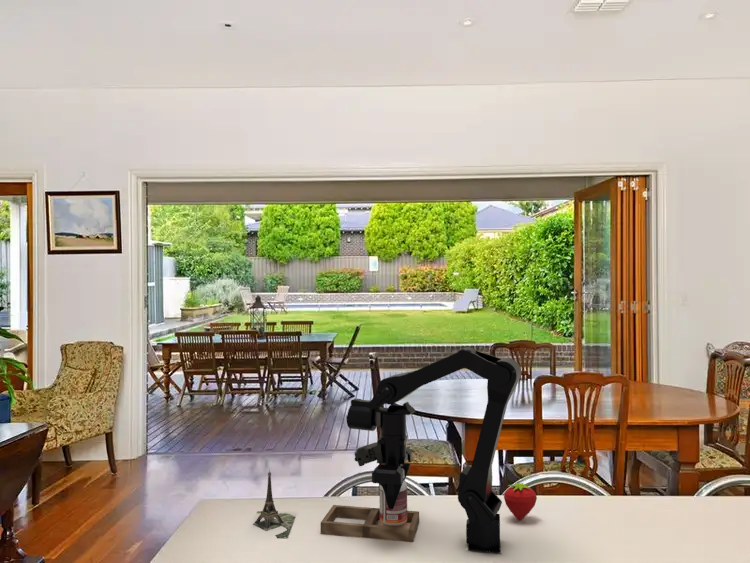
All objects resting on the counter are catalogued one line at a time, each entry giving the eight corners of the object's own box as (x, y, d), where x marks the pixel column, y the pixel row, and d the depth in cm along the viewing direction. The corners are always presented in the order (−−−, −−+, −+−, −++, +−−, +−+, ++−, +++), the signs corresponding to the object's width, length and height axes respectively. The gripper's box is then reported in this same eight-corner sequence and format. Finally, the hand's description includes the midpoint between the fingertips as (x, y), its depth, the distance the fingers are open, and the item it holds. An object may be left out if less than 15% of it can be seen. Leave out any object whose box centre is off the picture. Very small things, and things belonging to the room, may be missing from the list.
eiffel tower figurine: (288, 541, 123) (288, 478, 123) (241, 541, 123) (241, 478, 123) (298, 513, 138) (298, 458, 138) (255, 513, 138) (256, 458, 138)
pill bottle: (412, 521, 127) (412, 470, 128) (393, 529, 123) (393, 476, 123) (393, 513, 132) (392, 464, 132) (373, 521, 128) (373, 470, 128)
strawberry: (540, 525, 130) (540, 481, 130) (507, 526, 130) (507, 481, 130) (532, 515, 136) (532, 472, 136) (500, 515, 136) (500, 473, 136)
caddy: (419, 522, 132) (419, 511, 132) (413, 542, 121) (413, 530, 121) (333, 515, 136) (333, 504, 136) (320, 533, 125) (320, 522, 125)
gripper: (366, 421, 138) (366, 486, 138) (347, 441, 120) (348, 516, 120) (412, 423, 136) (412, 489, 136) (400, 444, 118) (400, 520, 118)
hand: (393, 503), depth 128 cm, fingers closed on pill bottle, 6 cm apart
